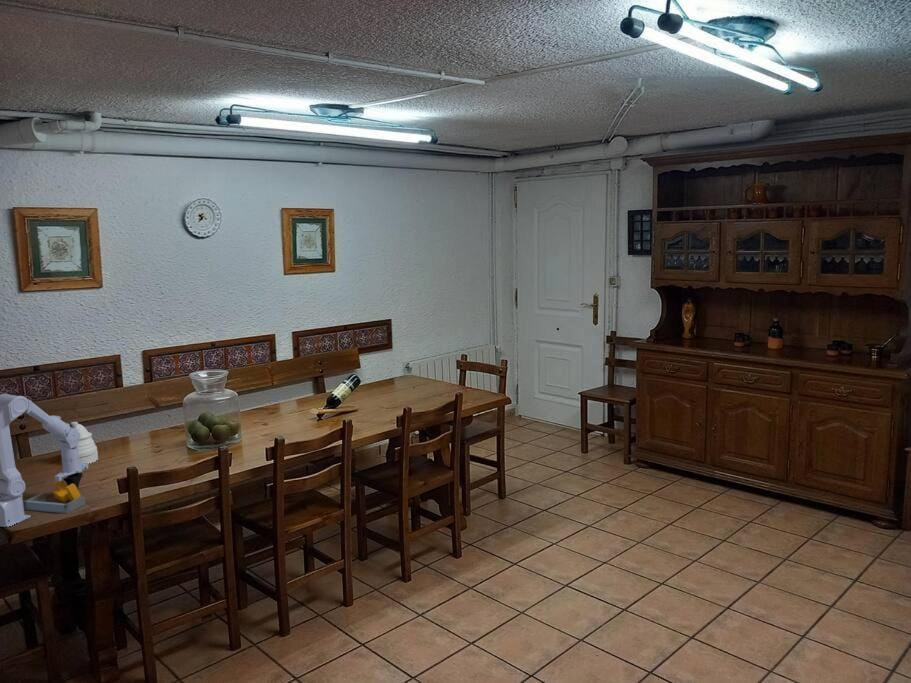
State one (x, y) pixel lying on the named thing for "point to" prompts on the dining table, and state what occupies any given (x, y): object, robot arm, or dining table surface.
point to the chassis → (52, 504)
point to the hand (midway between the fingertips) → (74, 492)
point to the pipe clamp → (65, 491)
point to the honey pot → (85, 445)
